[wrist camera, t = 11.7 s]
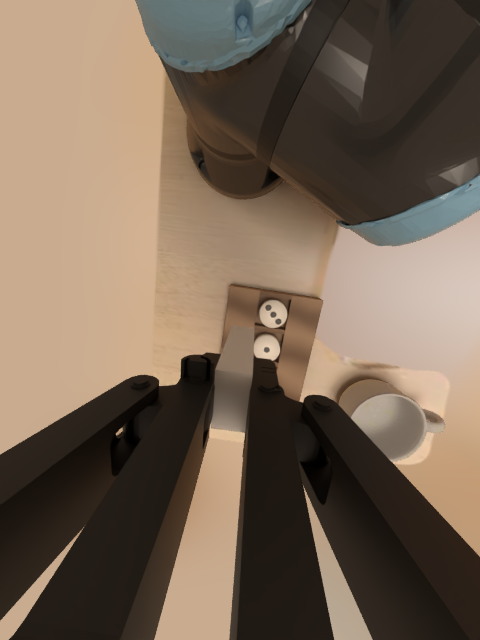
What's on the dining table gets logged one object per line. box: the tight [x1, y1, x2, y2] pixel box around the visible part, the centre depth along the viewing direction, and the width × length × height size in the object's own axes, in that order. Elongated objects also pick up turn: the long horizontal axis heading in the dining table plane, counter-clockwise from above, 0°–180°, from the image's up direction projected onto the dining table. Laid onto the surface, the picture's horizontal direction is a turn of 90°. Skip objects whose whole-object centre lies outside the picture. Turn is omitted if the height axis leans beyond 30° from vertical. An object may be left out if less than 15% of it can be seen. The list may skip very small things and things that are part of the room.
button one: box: [254, 332, 280, 361], centre depth 37 cm, size 4×4×3 cm
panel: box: [221, 285, 323, 401], centre depth 38 cm, size 17×14×2 cm
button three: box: [259, 298, 287, 328], centre depth 35 cm, size 4×4×3 cm
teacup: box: [338, 379, 445, 462], centre depth 37 cm, size 14×11×8 cm
